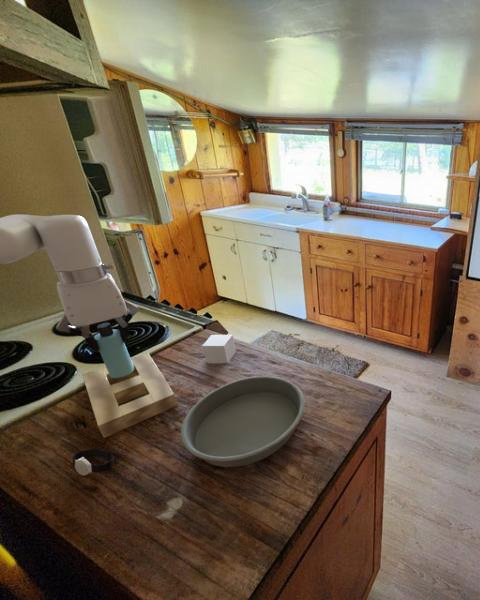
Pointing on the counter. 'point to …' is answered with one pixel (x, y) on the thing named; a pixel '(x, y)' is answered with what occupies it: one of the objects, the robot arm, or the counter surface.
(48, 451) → the counter surface
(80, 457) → the watch
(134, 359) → the hole block
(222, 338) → the white cube
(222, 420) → the cake pan
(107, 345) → the bottle
